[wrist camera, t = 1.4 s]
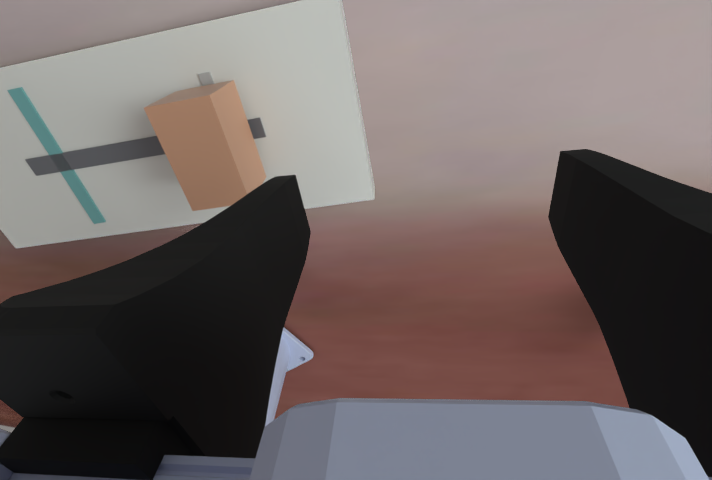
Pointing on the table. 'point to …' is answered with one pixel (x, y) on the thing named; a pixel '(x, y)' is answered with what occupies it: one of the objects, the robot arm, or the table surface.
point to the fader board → (139, 141)
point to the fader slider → (208, 144)
